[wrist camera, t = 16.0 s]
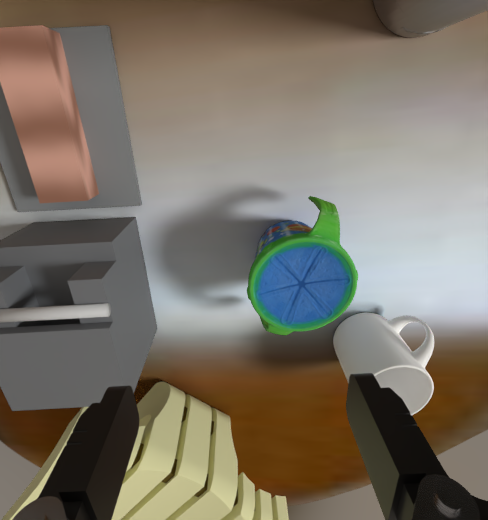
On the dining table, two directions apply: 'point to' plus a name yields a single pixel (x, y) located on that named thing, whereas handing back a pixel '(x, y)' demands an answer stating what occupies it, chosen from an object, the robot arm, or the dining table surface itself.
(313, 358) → the dining table surface
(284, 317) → the snack cup
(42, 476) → the slatted curved stool
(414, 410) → the mug
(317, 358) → the dining table surface
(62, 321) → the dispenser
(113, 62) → the mat
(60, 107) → the copper bar
